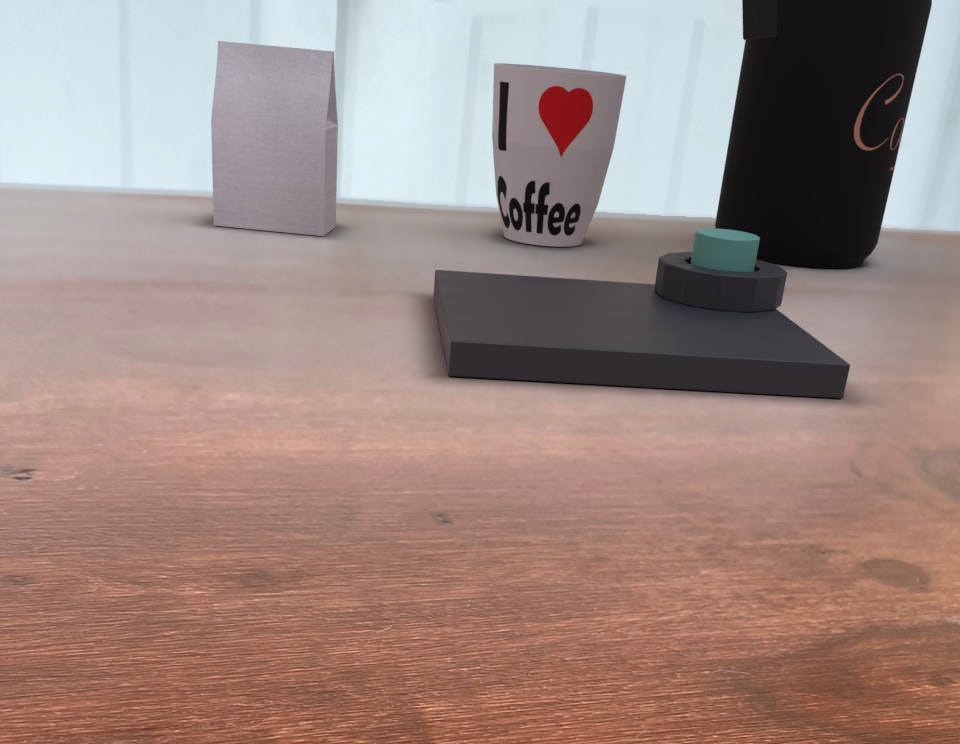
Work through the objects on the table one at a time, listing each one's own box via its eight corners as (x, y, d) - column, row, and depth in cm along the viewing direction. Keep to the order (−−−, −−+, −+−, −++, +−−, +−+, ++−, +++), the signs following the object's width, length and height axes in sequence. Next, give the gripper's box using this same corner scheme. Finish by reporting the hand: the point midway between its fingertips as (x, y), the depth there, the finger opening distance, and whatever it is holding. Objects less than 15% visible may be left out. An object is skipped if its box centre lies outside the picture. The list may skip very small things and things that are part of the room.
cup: (459, 237, 75) (471, 62, 70) (511, 224, 82) (526, 63, 77) (578, 256, 72) (599, 75, 68) (622, 241, 79) (644, 75, 74)
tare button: (743, 267, 58) (749, 230, 57) (760, 280, 55) (768, 241, 54) (683, 263, 58) (689, 226, 57) (698, 276, 55) (704, 237, 54)
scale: (753, 317, 61) (765, 256, 59) (853, 399, 48) (871, 324, 46) (432, 296, 59) (436, 233, 57) (448, 376, 46) (453, 298, 45)
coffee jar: (850, 277, 73) (924, -59, 65) (688, 250, 78) (738, -69, 69) (889, 257, 82) (959, -43, 73) (741, 233, 86) (791, -53, 78)
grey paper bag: (323, 236, 72) (326, 52, 67) (213, 225, 72) (209, 41, 67) (335, 227, 75) (339, 51, 70) (230, 216, 75) (227, 40, 70)
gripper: (564, -669, 43) (607, 54, 52) (949, -778, 40) (920, 14, 49) (592, -570, 49) (626, 56, 59) (924, -656, 46) (903, 21, 56)
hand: (760, 36), depth 54 cm, fingers closed
